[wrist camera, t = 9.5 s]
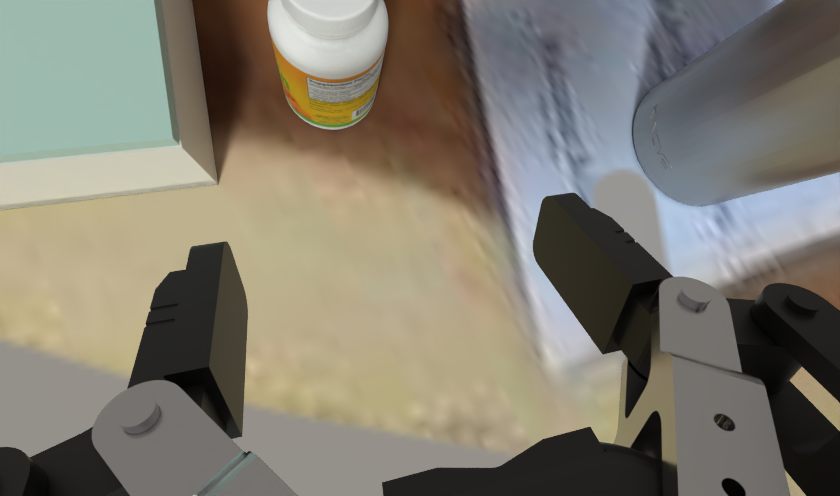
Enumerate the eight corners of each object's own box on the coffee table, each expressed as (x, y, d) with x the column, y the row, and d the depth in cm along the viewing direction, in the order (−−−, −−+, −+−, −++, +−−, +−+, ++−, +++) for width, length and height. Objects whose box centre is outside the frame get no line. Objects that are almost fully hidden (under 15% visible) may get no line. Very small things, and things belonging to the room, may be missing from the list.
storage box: (189, -17, 26) (147, -111, 20) (217, 184, 25) (182, 147, 19) (-57, -9, 23) (-189, -115, 17) (-37, 214, 22) (-170, 182, 16)
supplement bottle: (281, 45, 26) (251, -100, 17) (372, 47, 27) (392, -88, 18) (286, 132, 26) (258, 34, 16) (378, 131, 27) (403, 38, 17)
